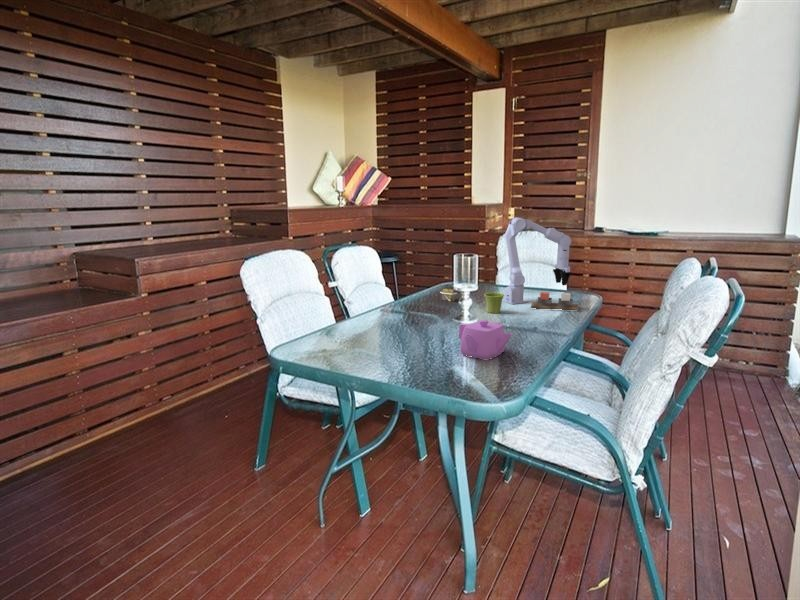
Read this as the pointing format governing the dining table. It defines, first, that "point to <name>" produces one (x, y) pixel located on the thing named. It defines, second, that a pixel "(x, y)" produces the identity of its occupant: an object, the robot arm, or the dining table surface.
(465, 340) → the teakettle
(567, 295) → the cream button
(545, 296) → the red button
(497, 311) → the plant pot
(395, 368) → the dining table surface
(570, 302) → the block
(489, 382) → the dining table surface
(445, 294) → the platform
